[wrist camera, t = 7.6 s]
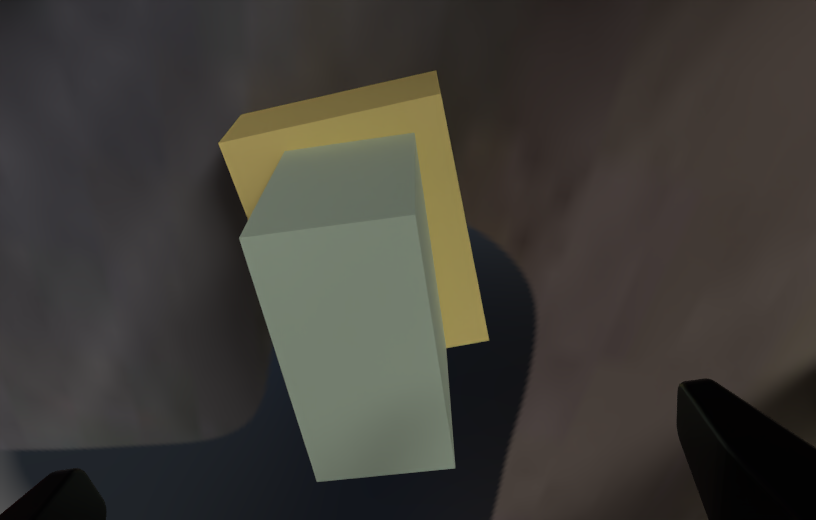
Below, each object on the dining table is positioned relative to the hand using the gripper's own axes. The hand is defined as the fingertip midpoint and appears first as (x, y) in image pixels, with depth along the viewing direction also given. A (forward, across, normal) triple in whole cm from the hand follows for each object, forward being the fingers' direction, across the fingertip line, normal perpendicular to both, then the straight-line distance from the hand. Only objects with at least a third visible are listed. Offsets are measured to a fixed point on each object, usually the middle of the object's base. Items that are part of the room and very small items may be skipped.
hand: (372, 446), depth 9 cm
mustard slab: (+12, +1, +2) cm, 12 cm away
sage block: (+9, +1, +2) cm, 9 cm away
